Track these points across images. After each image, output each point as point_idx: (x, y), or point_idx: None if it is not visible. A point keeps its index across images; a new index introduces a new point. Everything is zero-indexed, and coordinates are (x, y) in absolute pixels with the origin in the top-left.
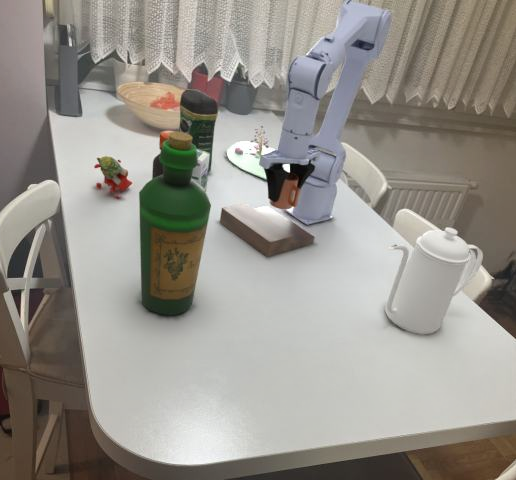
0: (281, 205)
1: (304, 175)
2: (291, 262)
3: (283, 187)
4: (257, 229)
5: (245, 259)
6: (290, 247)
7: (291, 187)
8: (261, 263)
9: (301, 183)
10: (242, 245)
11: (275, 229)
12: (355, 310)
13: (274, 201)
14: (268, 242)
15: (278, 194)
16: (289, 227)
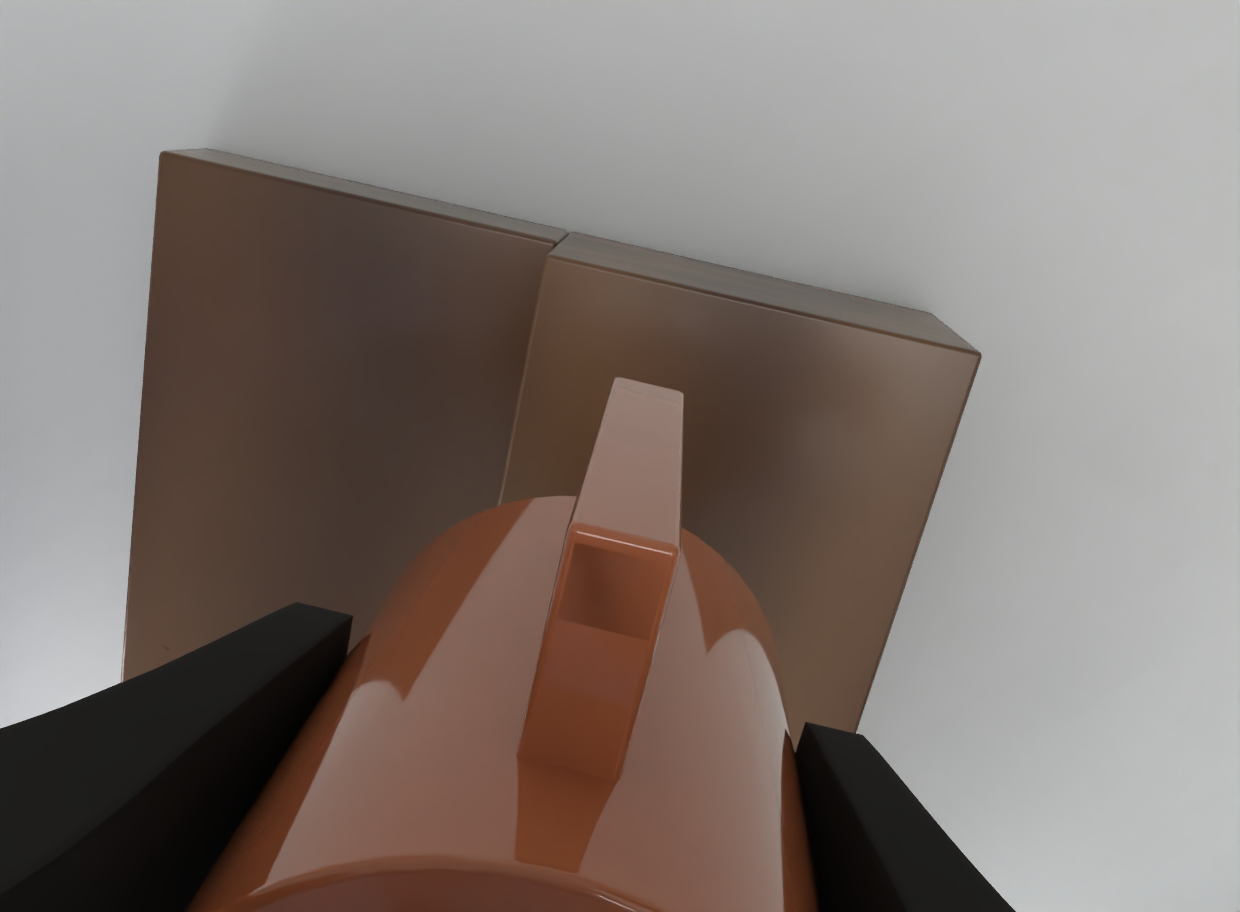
0: (753, 617)
1: (7, 888)
2: (797, 64)
3: (805, 894)
4: (822, 632)
5: (1155, 432)
6: (584, 239)
7: (654, 768)
8: (1096, 276)
9: (140, 742)
10: (923, 612)
11: None
12: None
13: (876, 750)
14: (968, 377)
15: (896, 811)
16: (273, 483)
